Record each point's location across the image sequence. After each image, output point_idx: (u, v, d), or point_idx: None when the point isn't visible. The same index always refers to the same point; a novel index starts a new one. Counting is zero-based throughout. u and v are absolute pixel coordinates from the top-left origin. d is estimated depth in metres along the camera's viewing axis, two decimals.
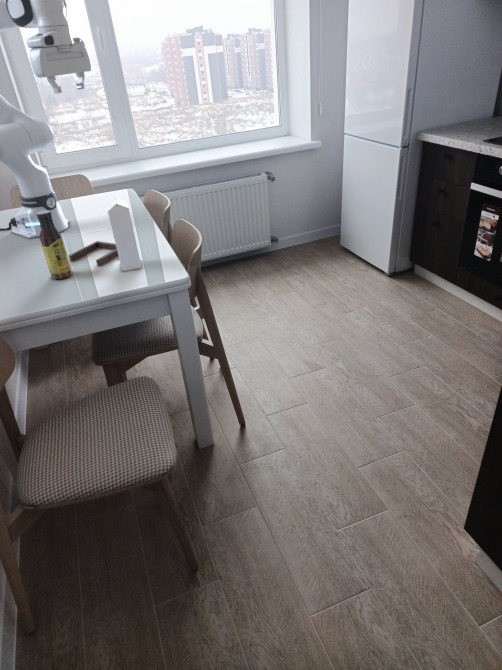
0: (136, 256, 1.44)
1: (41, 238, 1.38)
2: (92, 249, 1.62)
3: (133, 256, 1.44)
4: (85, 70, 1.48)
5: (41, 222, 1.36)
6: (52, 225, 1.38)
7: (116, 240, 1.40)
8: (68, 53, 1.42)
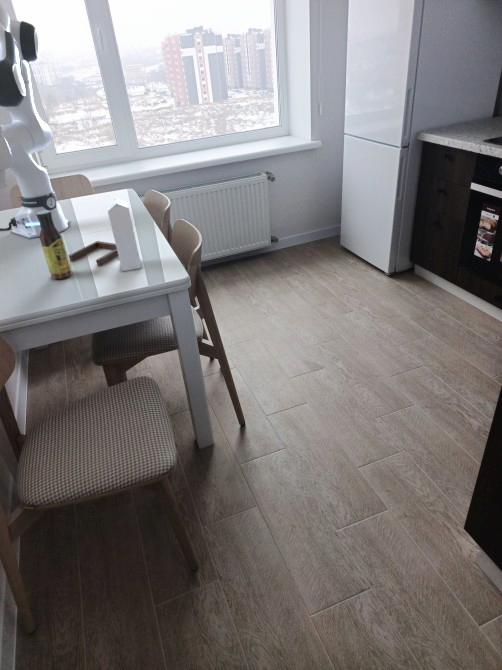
0: (136, 256, 1.44)
1: (41, 238, 1.38)
2: (92, 249, 1.62)
3: (133, 256, 1.44)
4: None
5: (41, 222, 1.36)
6: (52, 225, 1.38)
7: (116, 240, 1.40)
8: None
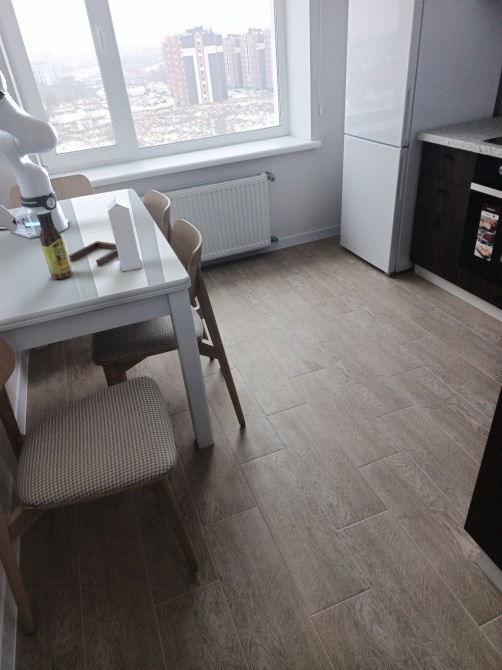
0: (136, 256, 1.44)
1: (41, 238, 1.38)
2: (92, 249, 1.62)
3: (133, 256, 1.44)
4: None
5: (41, 222, 1.36)
6: (52, 225, 1.38)
7: (116, 240, 1.40)
8: None
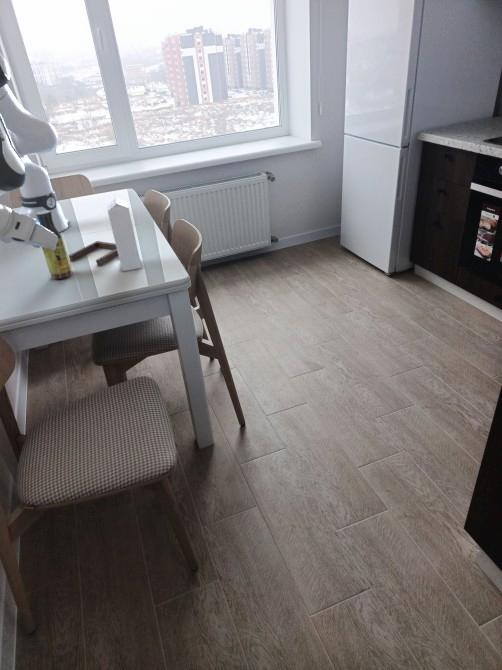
0: (136, 256, 1.44)
1: None
2: (92, 249, 1.62)
3: (133, 256, 1.44)
4: None
5: (41, 222, 1.36)
6: (52, 225, 1.38)
7: (116, 240, 1.40)
8: None
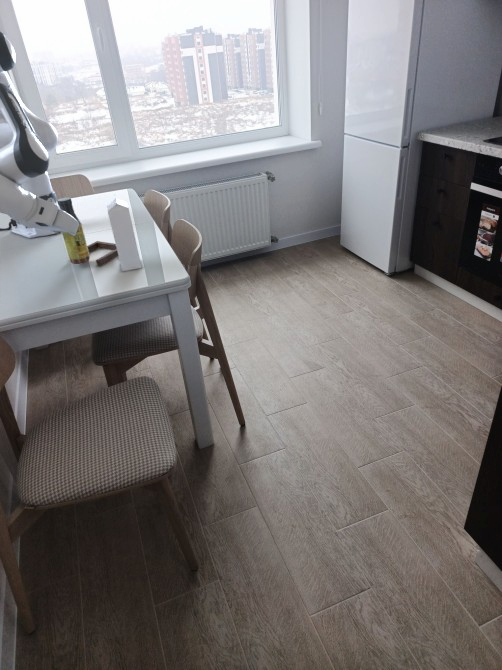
0: (136, 256, 1.44)
1: None
2: (92, 249, 1.62)
3: (133, 256, 1.44)
4: None
5: (62, 209, 1.42)
6: (72, 212, 1.43)
7: (116, 240, 1.40)
8: None
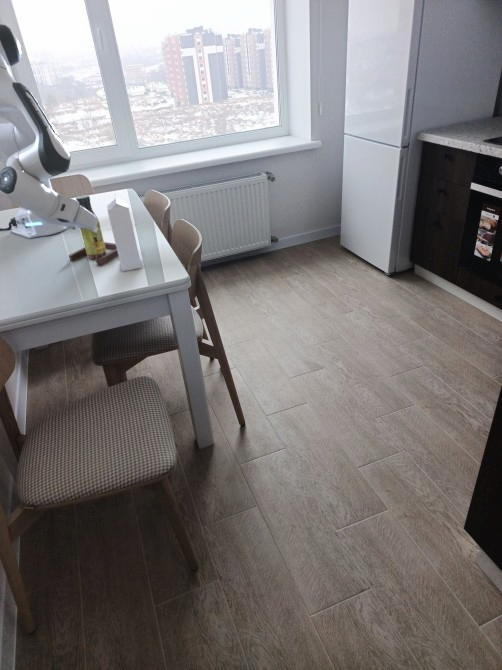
0: (136, 256, 1.44)
1: None
2: None
3: (133, 256, 1.44)
4: None
5: None
6: (90, 209, 1.49)
7: (116, 240, 1.40)
8: None
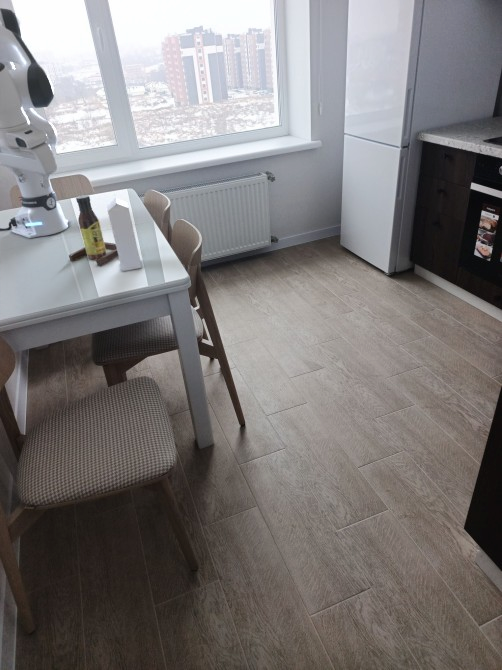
0: (136, 256, 1.44)
1: (80, 221, 1.49)
2: None
3: (133, 256, 1.44)
4: None
5: (80, 206, 1.47)
6: (90, 209, 1.49)
7: (116, 240, 1.40)
8: None
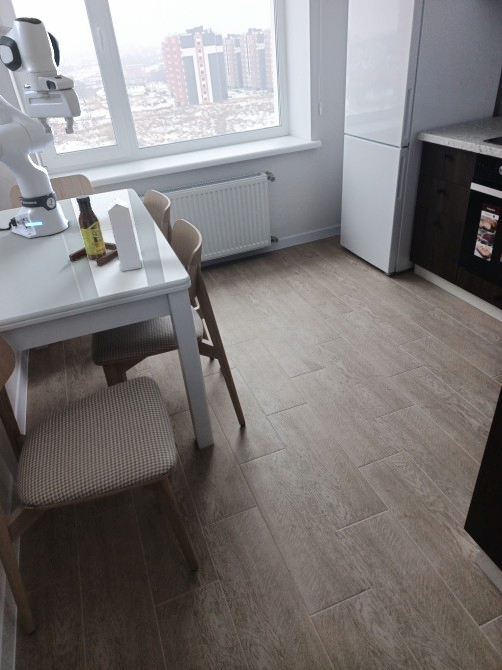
0: (136, 256, 1.44)
1: (80, 221, 1.49)
2: None
3: (133, 256, 1.44)
4: None
5: (80, 206, 1.47)
6: (90, 209, 1.49)
7: (116, 240, 1.40)
8: None
